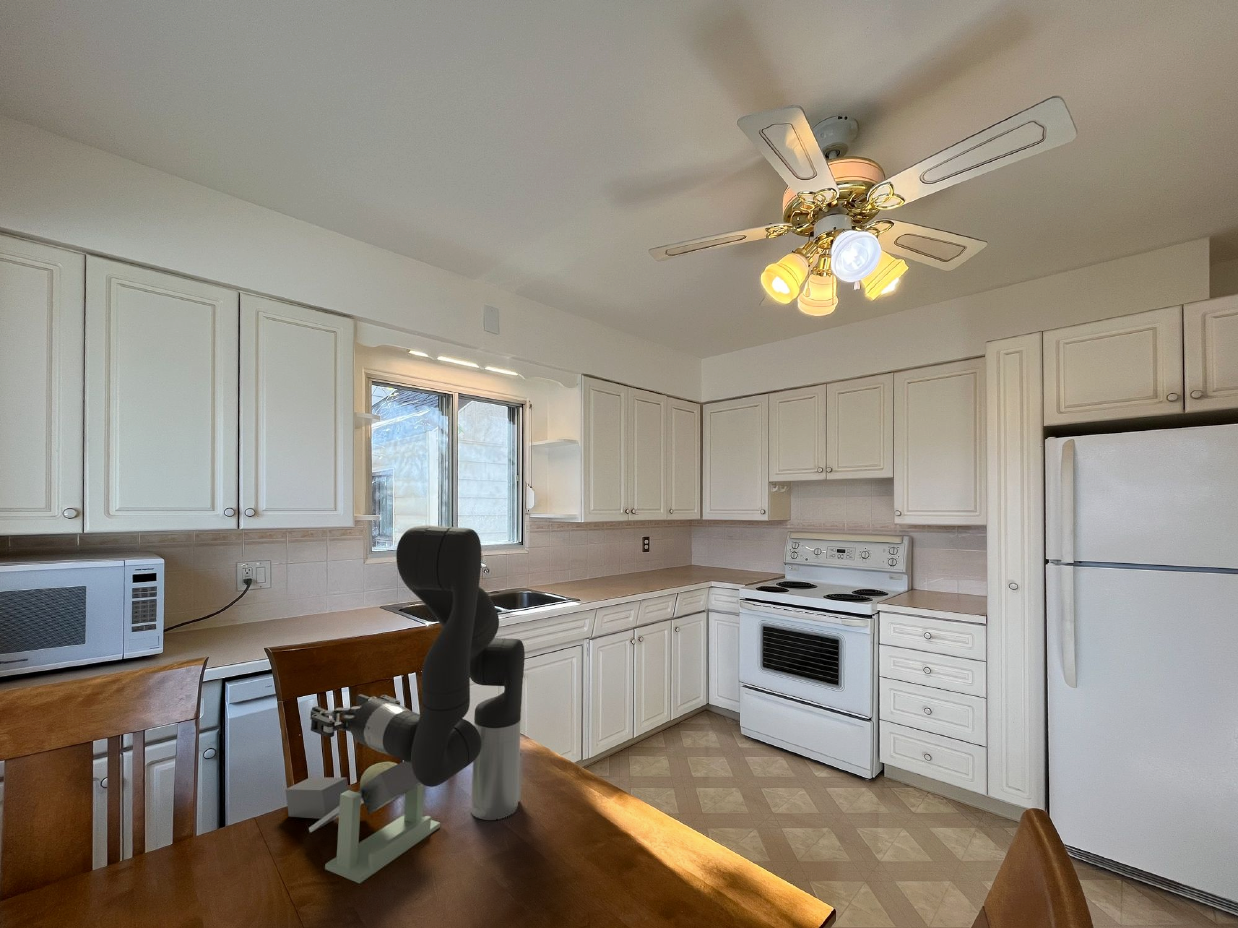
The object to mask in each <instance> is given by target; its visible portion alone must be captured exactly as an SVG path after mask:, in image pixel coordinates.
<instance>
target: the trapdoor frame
mask: <svg viewBox="0 0 1238 928" xmlns="http://www.w3.org/2000/svg"><path fill="white" fill-rule="evenodd" d="M424 788H425V785H423V784H420V785H418V786H417V787H415V788H413V789H412V790H410V791H408V792H407V793H405V795H404V812H403V815H401V816H399V817H398V818H396V819H395V820H393V821H392V822H390V823H389V824H387V825H385V826H384V827H382V828H381V829H378V831H376V832H374V833H372V834H371V835H370V836H368V837H366V838H365V839H363V840H362V841H360V842H359V839H360V838H359V837H360V821H361V820H360V819H361V805H362V804H361V794H359V793H356V792H357V791H352V790H350V789H349V790H348V791H346V792H344V793H342V794H340V808H339V817H338V827H337V828H338V830H337V844H336V845H337V847H336V848H337V849H336V856H335V858H332V859H331V860H329V861H328V862H326V863H325V865H324V870H326V871H329V872H331V873H333V874H336V875H338V876H341V877H344V878H346V879H347V880H349V881H353V882H355V883H358V884H362V883H363V882H364V881H365V880H367V879H368V878H369V877H371V876H372V875H374V874H375V873H377V872H378V871H379V870H381V869H382V868H383V867H385V866H387V865H388V864H389V863H391V862H392V861H394V860H395V859H396V858H398V857H400V856H401V855H402V854H403V853H405V852H407V851H408V850H409V849H411V848H413V846H415V845H416V844H418V843H420V842H421V841H422V840H424V839H425V838H427V837H428V836H429V835H431V834H432V833H433V832H435V831H436V830H438V829H439V828H440V827H441V822H439V821H436V820H433V819H432V817H431V816H430V815H426V816H424V815H423V814H424V813H423V812H424V793H425V791H424V790H425V789H424ZM360 804H361V805H360Z"/></svg>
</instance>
